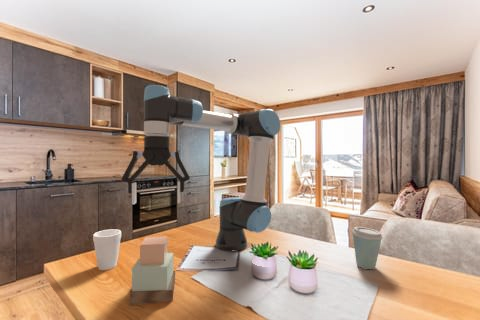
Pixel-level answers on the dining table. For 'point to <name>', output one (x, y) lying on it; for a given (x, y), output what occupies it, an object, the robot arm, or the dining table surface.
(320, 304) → the dining table surface
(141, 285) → the sage brick
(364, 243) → the disposable coffee cup
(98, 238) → the foam cup
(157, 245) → the beige cube
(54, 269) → the dining table surface
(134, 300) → the walnut base
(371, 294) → the dining table surface
